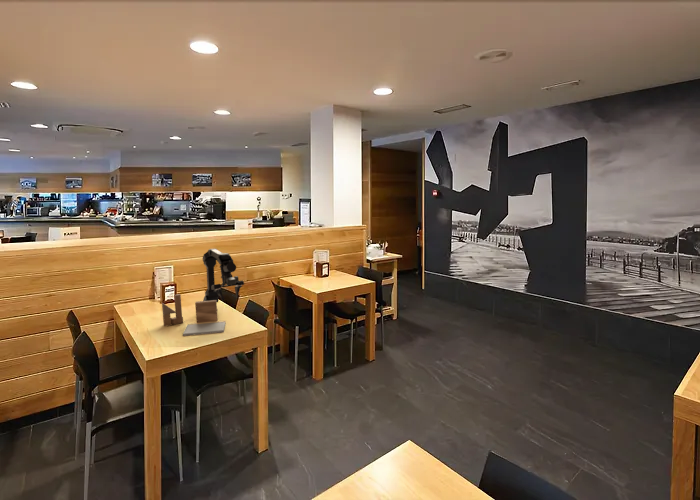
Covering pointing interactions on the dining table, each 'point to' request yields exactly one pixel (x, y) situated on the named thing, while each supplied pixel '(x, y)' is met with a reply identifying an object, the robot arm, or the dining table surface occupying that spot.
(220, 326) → the slate floor board
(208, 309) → the walnut plank
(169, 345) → the dining table surface
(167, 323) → the wooden block
